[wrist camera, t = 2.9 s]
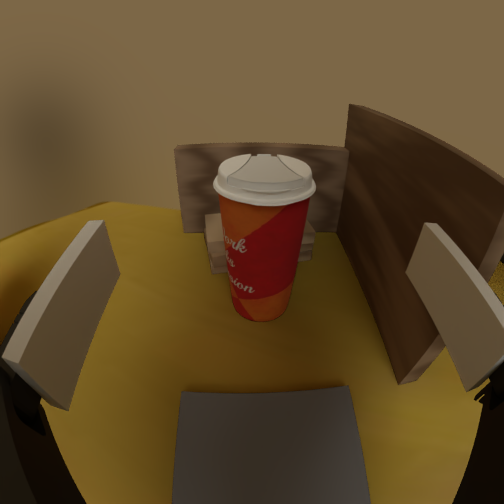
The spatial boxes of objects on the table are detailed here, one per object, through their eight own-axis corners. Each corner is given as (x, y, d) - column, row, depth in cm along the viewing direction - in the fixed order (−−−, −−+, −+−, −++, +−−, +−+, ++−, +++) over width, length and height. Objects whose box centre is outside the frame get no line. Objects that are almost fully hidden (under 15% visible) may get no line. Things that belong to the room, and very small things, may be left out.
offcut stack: (294, 233, 39) (297, 204, 36) (313, 263, 33) (318, 232, 31) (204, 244, 36) (201, 214, 34) (211, 278, 31) (207, 246, 28)
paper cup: (225, 275, 31) (219, 151, 23) (294, 276, 31) (308, 153, 23) (218, 331, 25) (203, 186, 16) (302, 331, 25) (329, 189, 16)
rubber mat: (345, 389, 20) (348, 385, 19) (369, 532, 9) (374, 533, 9) (183, 395, 19) (181, 391, 19) (173, 545, 9) (170, 547, 8)
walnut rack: (344, 224, 40) (363, 106, 30) (416, 380, 19) (526, 195, 9) (186, 225, 40) (174, 100, 29) (141, 396, 19) (32, 180, 8)
